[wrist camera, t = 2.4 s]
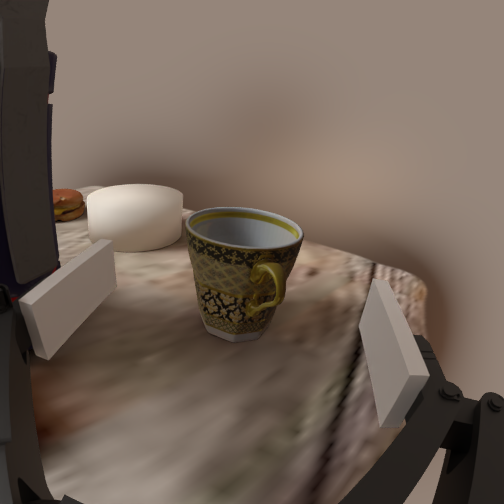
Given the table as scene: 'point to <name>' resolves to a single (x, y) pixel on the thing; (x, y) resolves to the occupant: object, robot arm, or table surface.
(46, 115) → the grenade
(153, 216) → the plinth
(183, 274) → the table surface
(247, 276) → the ceramic cup
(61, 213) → the burger
